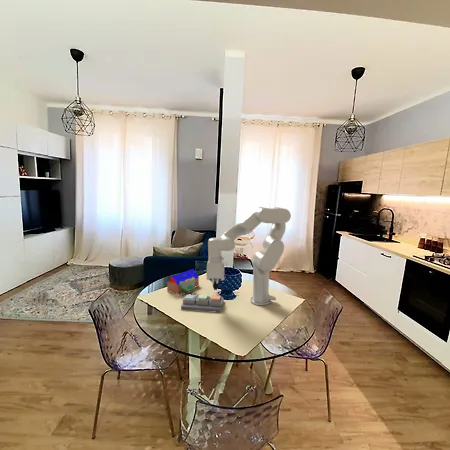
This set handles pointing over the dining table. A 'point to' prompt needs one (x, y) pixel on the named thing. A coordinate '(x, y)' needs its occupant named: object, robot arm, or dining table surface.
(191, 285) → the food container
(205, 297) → the button sage
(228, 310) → the dining table surface
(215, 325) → the dining table surface
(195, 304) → the button panel
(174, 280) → the house
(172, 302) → the dining table surface
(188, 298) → the button slate
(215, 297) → the button terracotta
